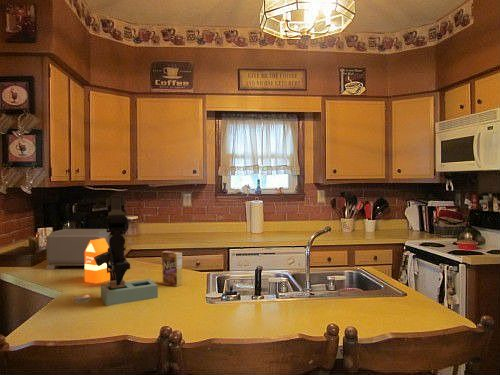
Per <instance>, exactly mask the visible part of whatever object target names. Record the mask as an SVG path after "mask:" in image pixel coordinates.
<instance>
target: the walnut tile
mask: <svg viewBox="0 0 500 375" xmlns="http://www.w3.org/2000/svg"><path fill="white" fill-rule="evenodd" d="M109 282H110V287H111V288H118V287H125V282H126V281H125V280H124V279H123V280H122V281H121V283H120V285H117V283H116V280H115V281H110V280H109Z"/></svg>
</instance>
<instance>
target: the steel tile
mask: <svg viewBox="0 0 500 375" xmlns="http://www.w3.org/2000/svg"><path fill="white" fill-rule="evenodd" d="M90 301H91V296H90V294H84V295H75V296H74V302H75V304H81V302H82V303H87V302H90Z"/></svg>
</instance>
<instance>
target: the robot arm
mask: <svg viewBox="0 0 500 375" xmlns="http://www.w3.org/2000/svg"><path fill="white" fill-rule="evenodd" d="M105 202H106V203H105V204H106V205H105V206H106V207H105V209H106V210H107V212H108V216H106V229H107V232H110V234H109V247H108V251H107V252H105V253H102V254H100V255H97V256H95V257H94V259H95V262H96V264H97V265H98V266H101V265H102V264H104V263H106V264H107V273H110V279H109V282H107V285H109V284H110V281H115V280H116V283H117V285H120V283H121V281H122V280H124V276H125V274H126V272H127V271H128V270H130V269H131V263H129V262H128V261H127V258H126V257H125V251H126V248H127V247H125V243H126V238H125V233H126V232H128V230H129V219H128V217H127V216H126V214H125V209H126V205H127V204H126V199H125V198H124V197H123V195H120V194H119V195H116V194H115V195H111V196H110V197H108V198H106V201H105ZM108 229H109V230H108ZM124 232H125V233H124Z"/></svg>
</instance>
